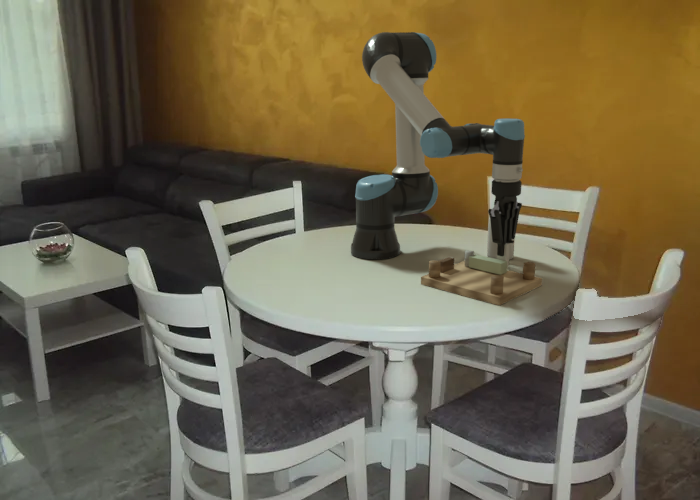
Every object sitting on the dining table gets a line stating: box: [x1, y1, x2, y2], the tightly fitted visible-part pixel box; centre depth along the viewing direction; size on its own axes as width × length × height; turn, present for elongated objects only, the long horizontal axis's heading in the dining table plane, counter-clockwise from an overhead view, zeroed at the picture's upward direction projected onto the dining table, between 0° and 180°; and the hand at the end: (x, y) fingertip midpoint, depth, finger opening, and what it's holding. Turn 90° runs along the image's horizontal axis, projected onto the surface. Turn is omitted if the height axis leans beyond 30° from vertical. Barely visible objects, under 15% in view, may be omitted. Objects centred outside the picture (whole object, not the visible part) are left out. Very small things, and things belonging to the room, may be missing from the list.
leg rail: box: [464, 250, 508, 275], centre depth 181 cm, size 12×3×4 cm, turn 45°
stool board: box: [420, 256, 543, 306], centre depth 175 cm, size 24×20×6 cm
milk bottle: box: [486, 196, 515, 261], centre depth 197 cm, size 8×8×20 cm
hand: (502, 266), depth 180 cm, fingers closed
